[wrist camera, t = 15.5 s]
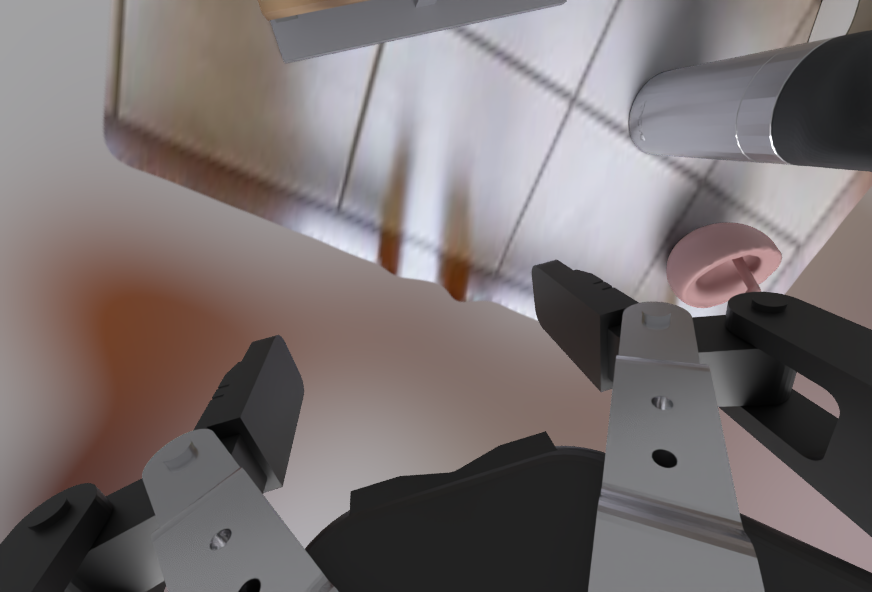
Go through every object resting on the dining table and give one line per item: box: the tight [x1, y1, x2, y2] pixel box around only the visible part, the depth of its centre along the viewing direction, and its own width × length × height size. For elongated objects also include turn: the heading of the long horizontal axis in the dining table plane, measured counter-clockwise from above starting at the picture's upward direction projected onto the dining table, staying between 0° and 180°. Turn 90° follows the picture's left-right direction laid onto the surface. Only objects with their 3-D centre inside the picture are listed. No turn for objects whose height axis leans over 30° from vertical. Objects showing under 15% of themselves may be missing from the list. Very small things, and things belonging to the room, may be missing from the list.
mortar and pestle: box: [666, 223, 782, 308], centre depth 49 cm, size 12×12×11 cm
